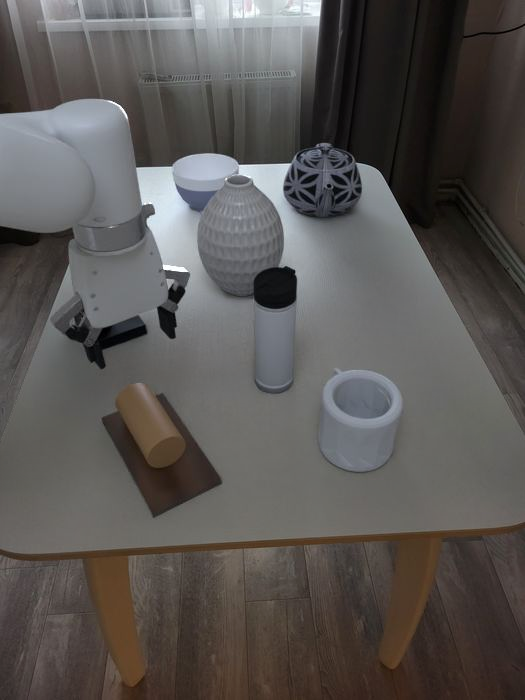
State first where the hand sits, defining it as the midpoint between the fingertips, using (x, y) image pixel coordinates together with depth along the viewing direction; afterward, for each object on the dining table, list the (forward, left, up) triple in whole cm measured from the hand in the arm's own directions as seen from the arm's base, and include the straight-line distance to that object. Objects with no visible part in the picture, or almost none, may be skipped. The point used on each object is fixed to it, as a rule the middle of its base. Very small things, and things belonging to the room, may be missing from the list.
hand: (134, 347), depth 71 cm
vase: (+31, +26, -17) cm, 44 cm away
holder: (0, -3, -17) cm, 17 cm away
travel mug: (+22, 0, -17) cm, 28 cm away
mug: (+25, -16, -17) cm, 34 cm away
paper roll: (0, -1, -16) cm, 16 cm away
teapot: (+64, +46, -17) cm, 81 cm away
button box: (+4, +27, -17) cm, 33 cm away
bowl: (+42, +62, -17) cm, 77 cm away
